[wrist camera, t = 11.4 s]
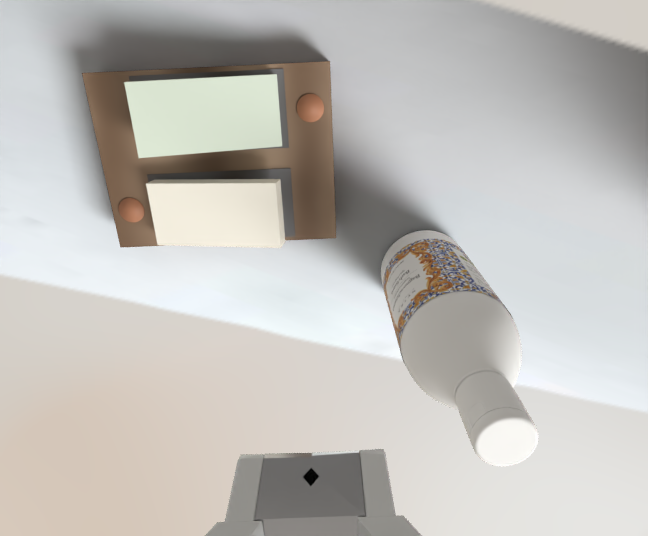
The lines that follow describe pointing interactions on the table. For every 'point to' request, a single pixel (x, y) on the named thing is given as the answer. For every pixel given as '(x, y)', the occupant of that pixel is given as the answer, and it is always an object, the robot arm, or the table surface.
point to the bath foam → (459, 342)
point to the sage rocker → (204, 114)
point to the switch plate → (261, 163)
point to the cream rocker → (217, 212)
